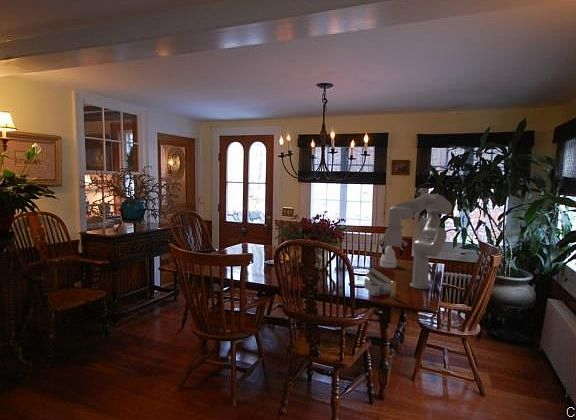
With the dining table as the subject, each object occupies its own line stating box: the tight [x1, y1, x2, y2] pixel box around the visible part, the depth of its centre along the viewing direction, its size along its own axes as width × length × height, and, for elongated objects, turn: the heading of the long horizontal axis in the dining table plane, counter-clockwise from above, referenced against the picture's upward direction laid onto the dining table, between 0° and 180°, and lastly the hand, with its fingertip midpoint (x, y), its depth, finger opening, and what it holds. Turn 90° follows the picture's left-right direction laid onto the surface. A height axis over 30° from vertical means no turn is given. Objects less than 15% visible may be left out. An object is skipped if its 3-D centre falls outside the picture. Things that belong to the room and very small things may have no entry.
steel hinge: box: [364, 277, 391, 297], centre depth 235 cm, size 17×17×6 cm
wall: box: [365, 267, 392, 284], centre depth 250 cm, size 16×9×15 cm
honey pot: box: [379, 246, 398, 269], centre depth 301 cm, size 13×13×18 cm
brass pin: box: [389, 280, 397, 299], centre depth 223 cm, size 3×3×10 cm
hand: (391, 255), depth 227 cm, fingers open, 9 cm apart
